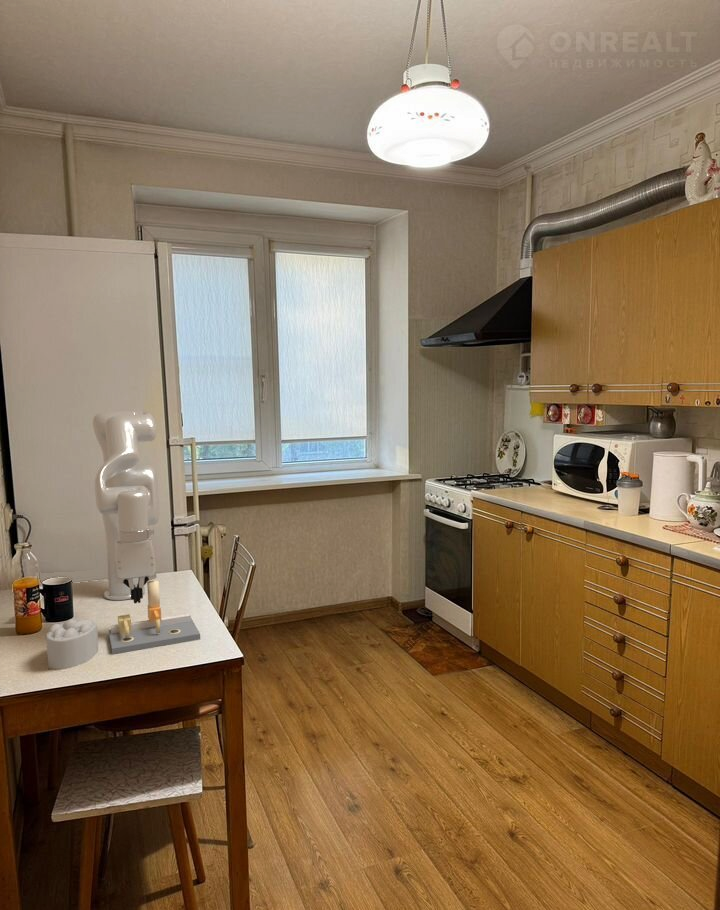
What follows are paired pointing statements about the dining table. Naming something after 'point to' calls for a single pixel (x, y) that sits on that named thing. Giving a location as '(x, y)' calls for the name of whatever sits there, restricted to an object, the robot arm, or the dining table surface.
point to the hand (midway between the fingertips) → (137, 601)
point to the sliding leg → (154, 603)
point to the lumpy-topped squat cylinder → (71, 643)
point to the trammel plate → (151, 633)
